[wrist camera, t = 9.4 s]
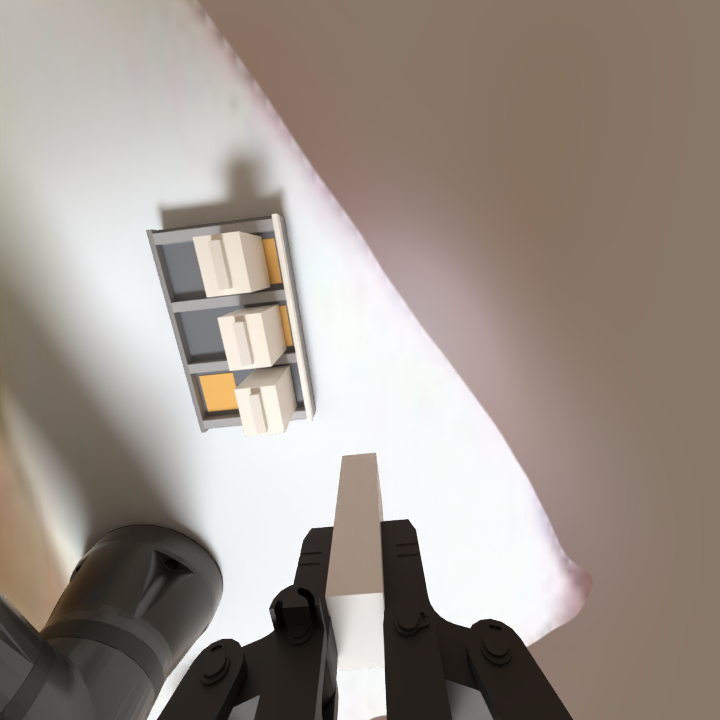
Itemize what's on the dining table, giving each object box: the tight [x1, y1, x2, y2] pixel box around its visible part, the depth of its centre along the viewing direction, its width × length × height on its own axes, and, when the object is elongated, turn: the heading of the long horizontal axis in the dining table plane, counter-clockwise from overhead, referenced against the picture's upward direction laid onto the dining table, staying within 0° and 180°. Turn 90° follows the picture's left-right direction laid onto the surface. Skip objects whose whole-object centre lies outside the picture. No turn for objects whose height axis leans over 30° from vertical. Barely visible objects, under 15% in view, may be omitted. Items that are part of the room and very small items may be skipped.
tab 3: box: [234, 365, 297, 437], centre depth 27 cm, size 3×4×5 cm
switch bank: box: [146, 214, 316, 433], centre depth 29 cm, size 10×17×2 cm, turn 7°
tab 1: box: [193, 231, 271, 297], centre depth 24 cm, size 3×4×5 cm
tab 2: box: [217, 304, 287, 371], centre depth 25 cm, size 3×4×5 cm
